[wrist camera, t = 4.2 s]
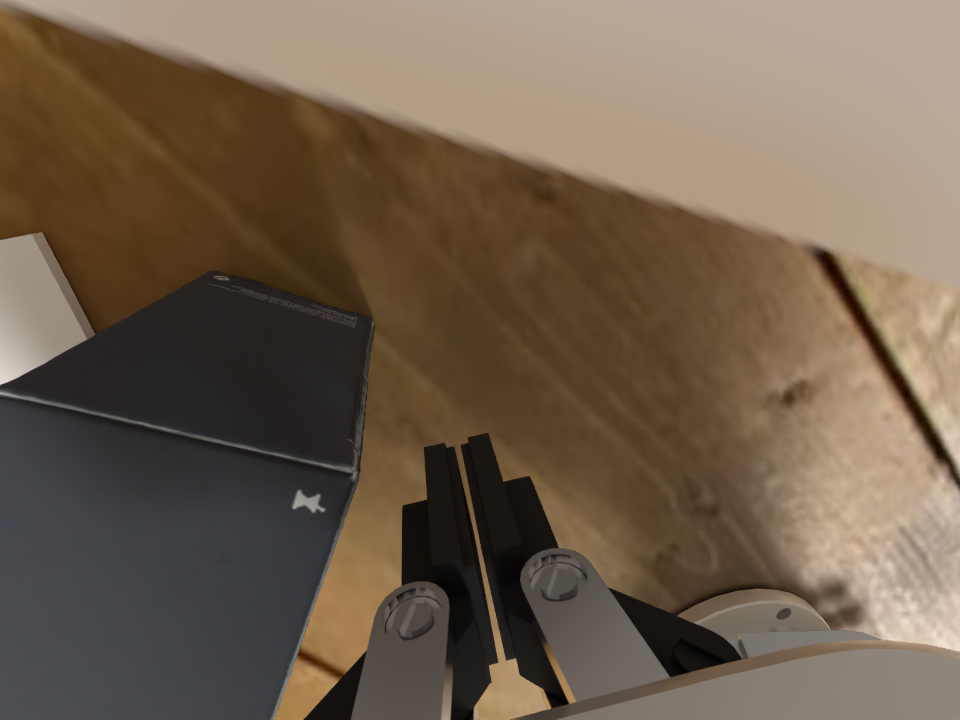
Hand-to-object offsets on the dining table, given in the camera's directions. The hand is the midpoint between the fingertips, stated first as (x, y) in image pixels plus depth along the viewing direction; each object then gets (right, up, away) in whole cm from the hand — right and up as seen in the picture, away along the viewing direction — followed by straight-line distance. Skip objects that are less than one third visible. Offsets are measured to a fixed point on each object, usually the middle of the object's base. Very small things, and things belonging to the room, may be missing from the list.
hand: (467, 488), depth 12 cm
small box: (-8, +1, +7) cm, 11 cm away
